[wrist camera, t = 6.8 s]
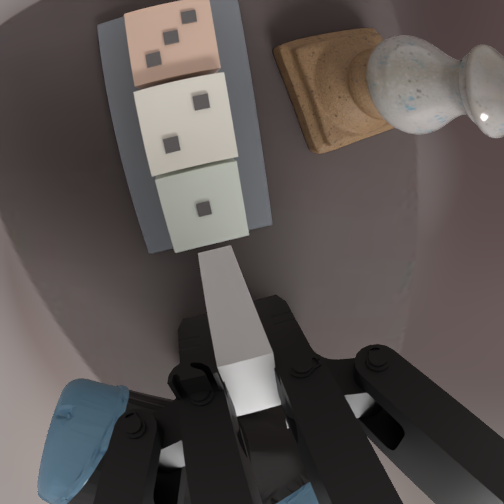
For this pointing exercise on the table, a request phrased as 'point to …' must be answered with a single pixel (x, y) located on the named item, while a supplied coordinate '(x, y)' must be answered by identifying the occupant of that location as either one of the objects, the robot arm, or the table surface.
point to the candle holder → (386, 86)
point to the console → (131, 136)
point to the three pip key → (171, 42)
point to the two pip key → (186, 123)
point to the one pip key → (203, 204)
